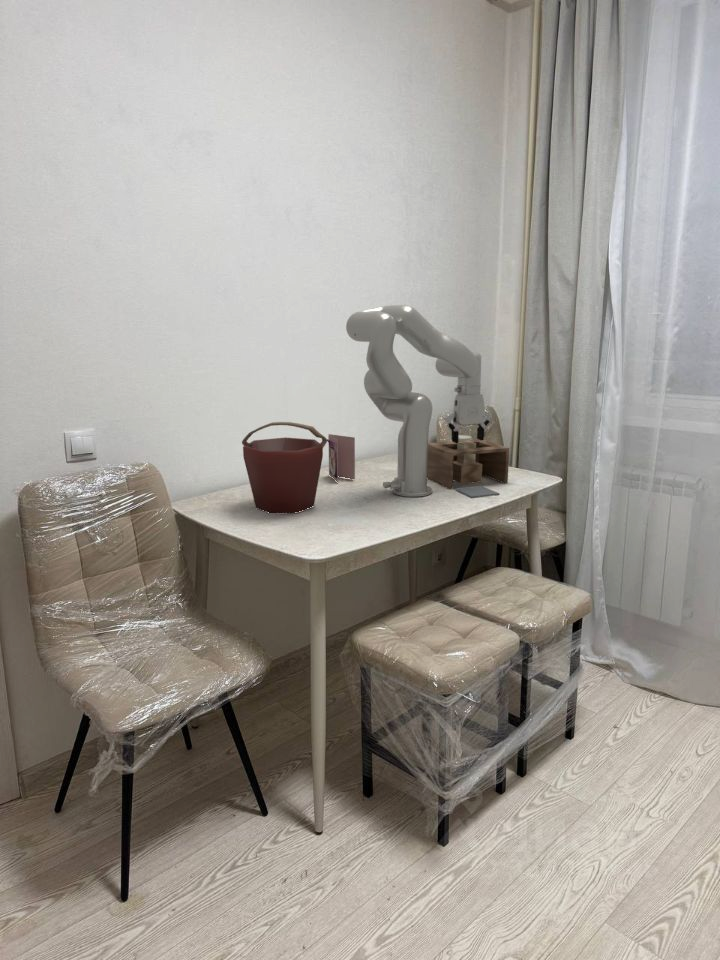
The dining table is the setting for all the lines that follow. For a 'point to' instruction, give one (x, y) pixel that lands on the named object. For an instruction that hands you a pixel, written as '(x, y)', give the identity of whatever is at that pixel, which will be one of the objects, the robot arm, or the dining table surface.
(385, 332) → the robot arm
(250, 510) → the dining table surface
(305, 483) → the bucket
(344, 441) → the greeting card
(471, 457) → the birch block
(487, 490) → the slate mat
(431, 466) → the slot box
